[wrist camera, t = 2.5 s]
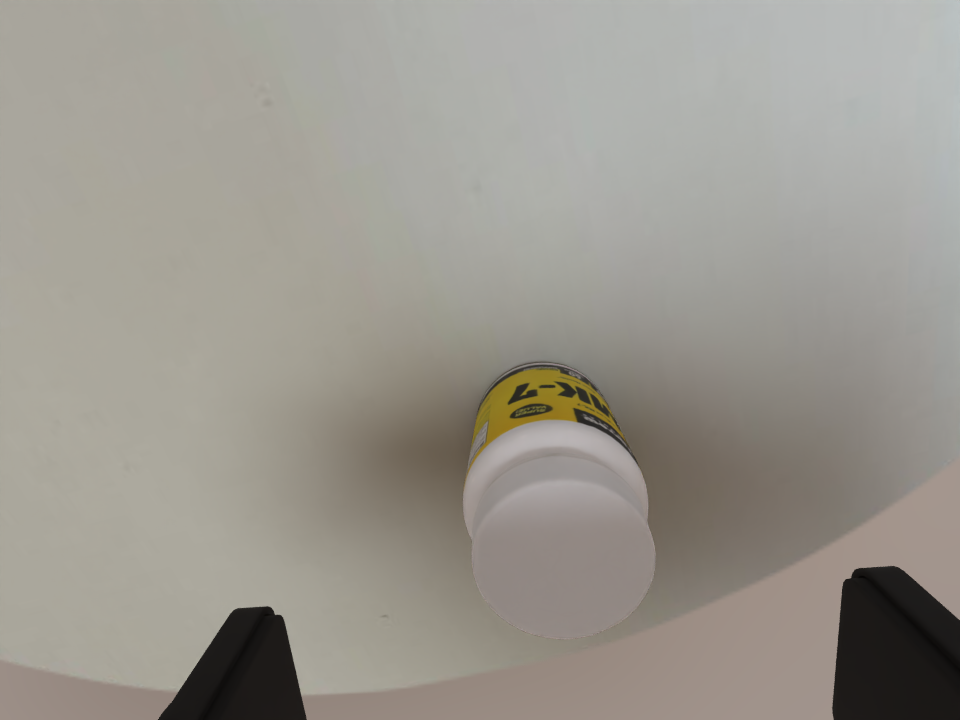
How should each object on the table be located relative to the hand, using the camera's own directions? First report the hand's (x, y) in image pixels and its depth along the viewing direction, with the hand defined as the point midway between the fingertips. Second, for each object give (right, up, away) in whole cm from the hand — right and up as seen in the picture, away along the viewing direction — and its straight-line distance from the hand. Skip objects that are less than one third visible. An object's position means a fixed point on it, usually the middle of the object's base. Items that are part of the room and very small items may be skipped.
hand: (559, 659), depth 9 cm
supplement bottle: (+1, +3, +11) cm, 11 cm away
